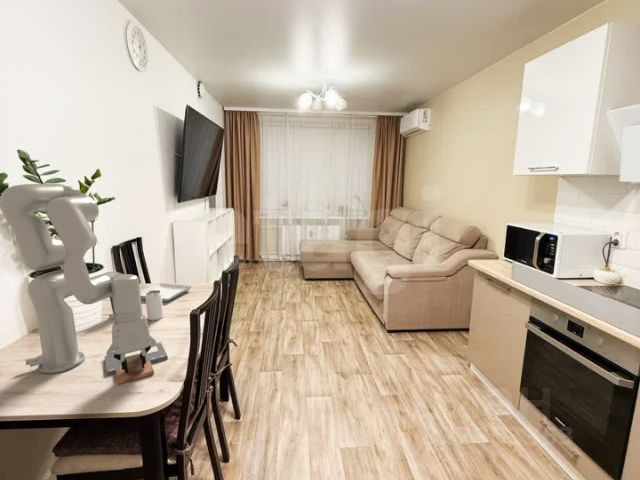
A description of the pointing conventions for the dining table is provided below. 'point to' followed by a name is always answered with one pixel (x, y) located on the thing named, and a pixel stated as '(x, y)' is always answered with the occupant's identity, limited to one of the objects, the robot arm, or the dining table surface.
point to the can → (154, 305)
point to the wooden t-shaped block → (134, 369)
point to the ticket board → (152, 355)
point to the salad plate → (166, 290)
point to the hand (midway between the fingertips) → (134, 368)
